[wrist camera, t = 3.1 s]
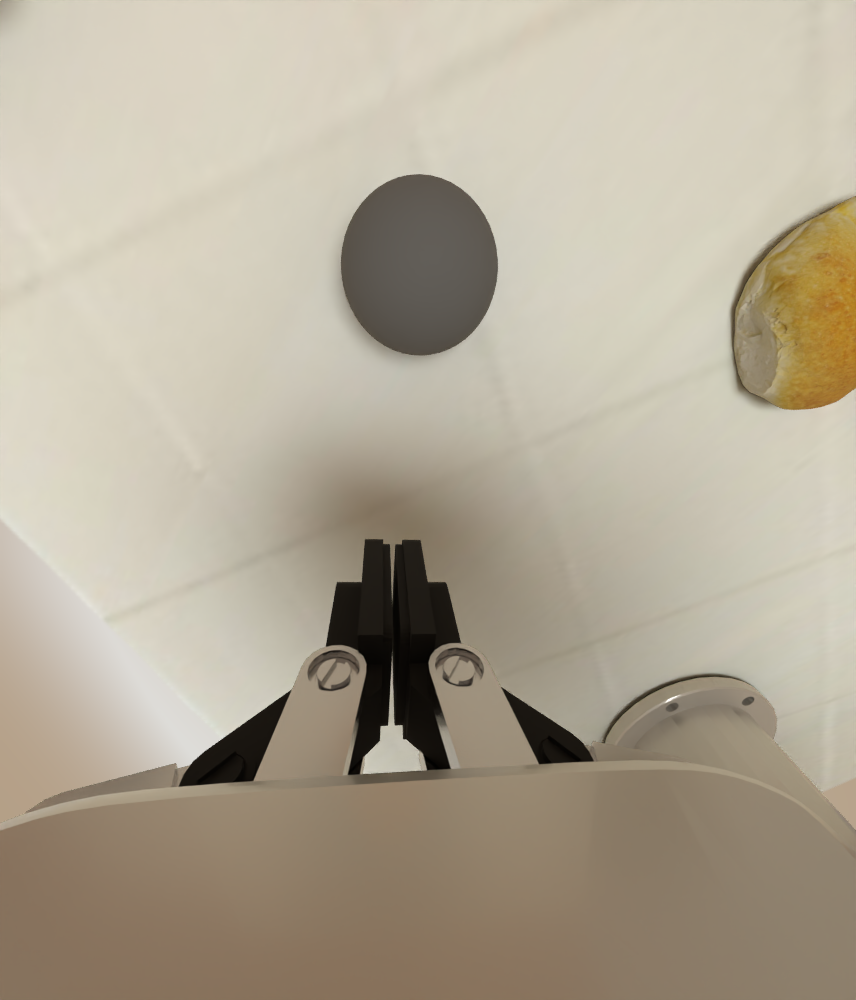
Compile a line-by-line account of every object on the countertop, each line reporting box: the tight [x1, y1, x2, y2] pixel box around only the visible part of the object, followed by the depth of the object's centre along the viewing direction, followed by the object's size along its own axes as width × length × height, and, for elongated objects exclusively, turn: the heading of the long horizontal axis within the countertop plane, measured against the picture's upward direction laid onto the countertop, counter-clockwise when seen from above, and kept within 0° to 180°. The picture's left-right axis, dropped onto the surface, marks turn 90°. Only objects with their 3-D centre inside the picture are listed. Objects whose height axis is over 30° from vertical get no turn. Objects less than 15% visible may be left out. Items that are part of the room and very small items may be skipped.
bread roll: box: [734, 196, 856, 410], centre depth 17 cm, size 8×9×4 cm
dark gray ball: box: [341, 174, 498, 355], centre depth 14 cm, size 6×6×6 cm
